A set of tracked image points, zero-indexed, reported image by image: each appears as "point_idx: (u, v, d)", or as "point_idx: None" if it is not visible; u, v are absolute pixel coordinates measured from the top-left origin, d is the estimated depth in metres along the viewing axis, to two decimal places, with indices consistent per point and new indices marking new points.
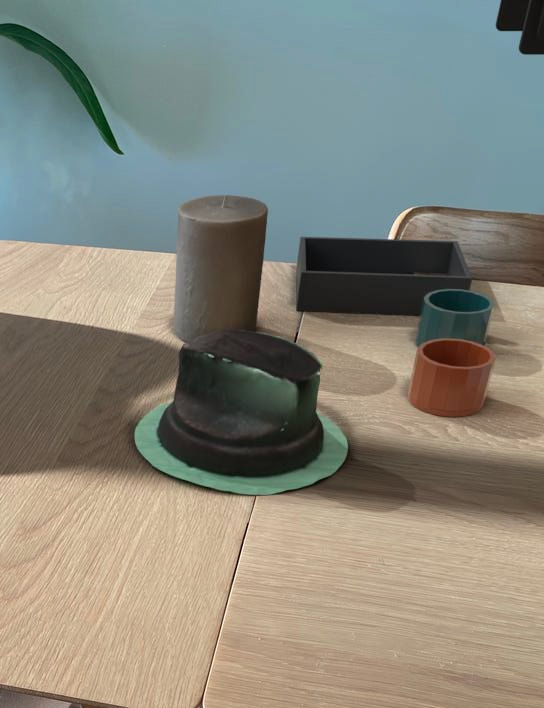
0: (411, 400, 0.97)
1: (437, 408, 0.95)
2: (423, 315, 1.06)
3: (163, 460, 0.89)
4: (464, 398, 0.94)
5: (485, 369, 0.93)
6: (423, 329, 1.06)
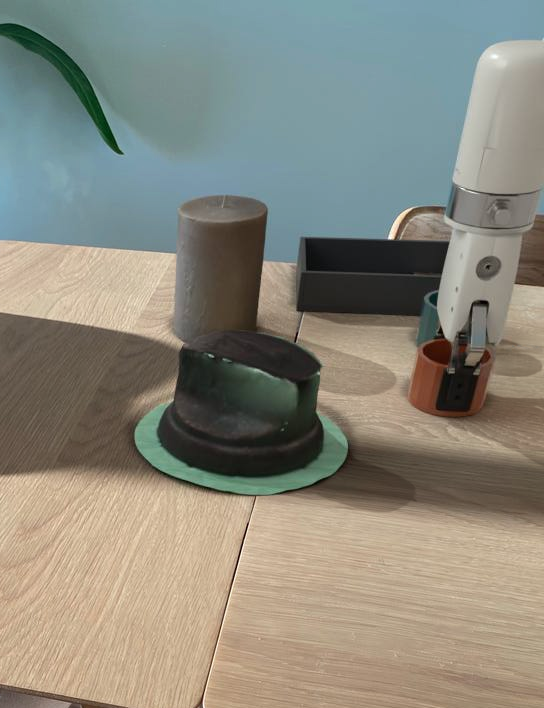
0: (411, 400, 0.97)
1: None
2: (423, 315, 1.06)
3: (163, 460, 0.89)
4: None
5: (485, 369, 0.93)
6: (423, 329, 1.06)
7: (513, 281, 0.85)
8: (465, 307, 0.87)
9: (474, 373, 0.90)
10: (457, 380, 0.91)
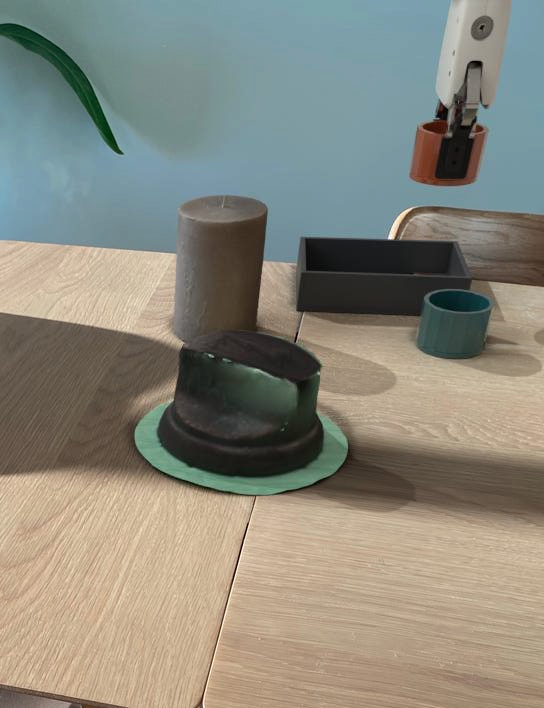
0: (412, 176, 1.07)
1: (436, 178, 1.05)
2: (423, 315, 1.06)
3: (163, 460, 0.89)
4: None
5: (479, 137, 1.03)
6: (423, 329, 1.06)
7: (504, 41, 0.95)
8: (461, 68, 0.97)
9: (470, 136, 1.00)
10: (454, 144, 1.01)
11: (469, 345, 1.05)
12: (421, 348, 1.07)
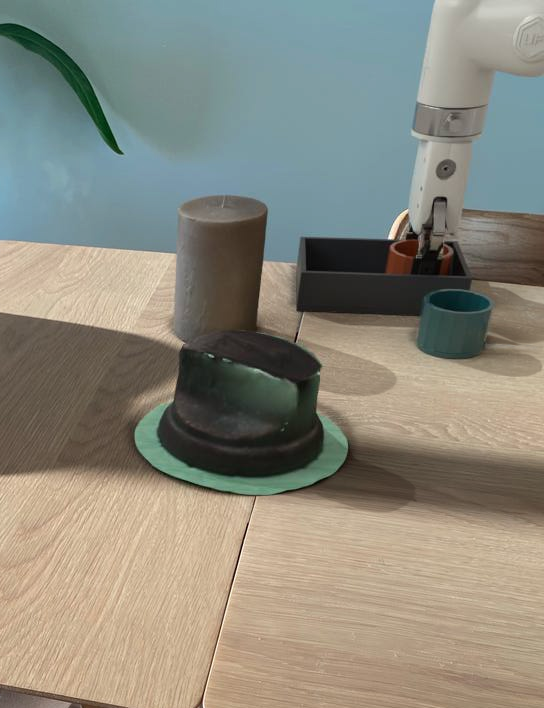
0: None
1: None
2: (423, 315, 1.06)
3: (163, 461, 0.89)
4: None
5: (444, 260, 1.14)
6: (423, 329, 1.06)
7: (466, 180, 1.07)
8: (428, 203, 1.09)
9: (438, 258, 1.11)
10: (424, 265, 1.12)
11: (469, 345, 1.05)
12: (421, 348, 1.07)
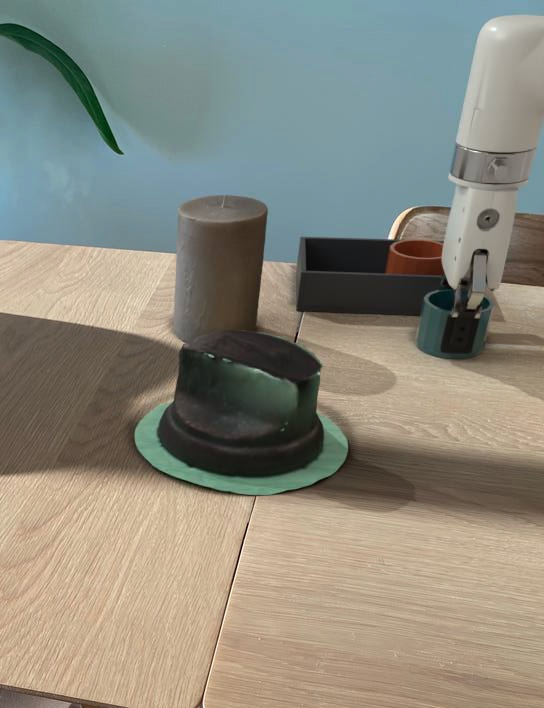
0: None
1: None
2: (423, 315, 1.06)
3: (163, 460, 0.89)
4: None
5: None
6: (423, 329, 1.06)
7: (510, 231, 0.96)
8: (467, 256, 0.97)
9: (475, 317, 1.01)
10: (460, 323, 1.02)
11: None
12: (421, 348, 1.07)
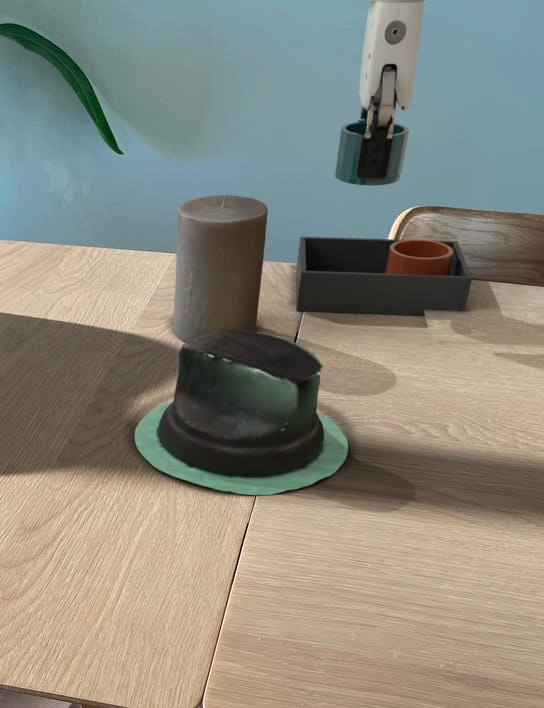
0: None
1: None
2: (340, 143, 1.09)
3: (163, 461, 0.89)
4: None
5: (444, 260, 1.14)
6: (341, 158, 1.09)
7: (417, 45, 0.99)
8: (377, 71, 1.00)
9: (387, 137, 1.04)
10: (373, 145, 1.05)
11: None
12: (339, 178, 1.10)
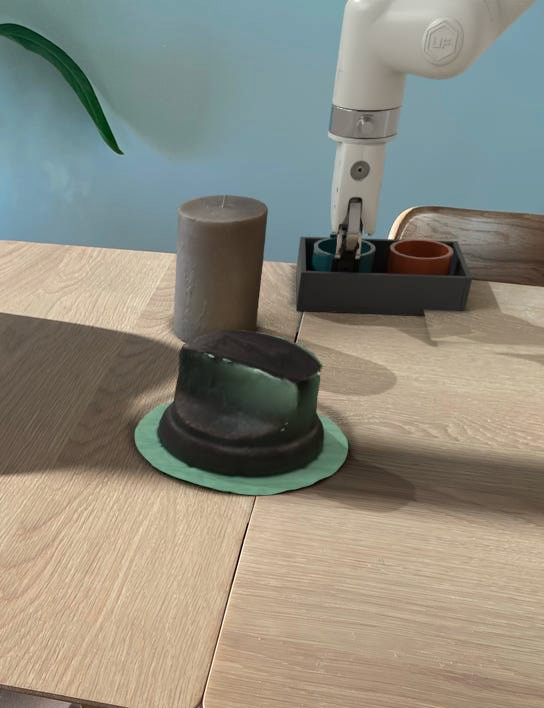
0: None
1: None
2: (313, 259, 1.18)
3: (163, 461, 0.89)
4: None
5: (444, 260, 1.14)
6: None
7: (380, 181, 1.08)
8: (344, 203, 1.10)
9: (355, 258, 1.13)
10: (342, 265, 1.14)
11: None
12: None
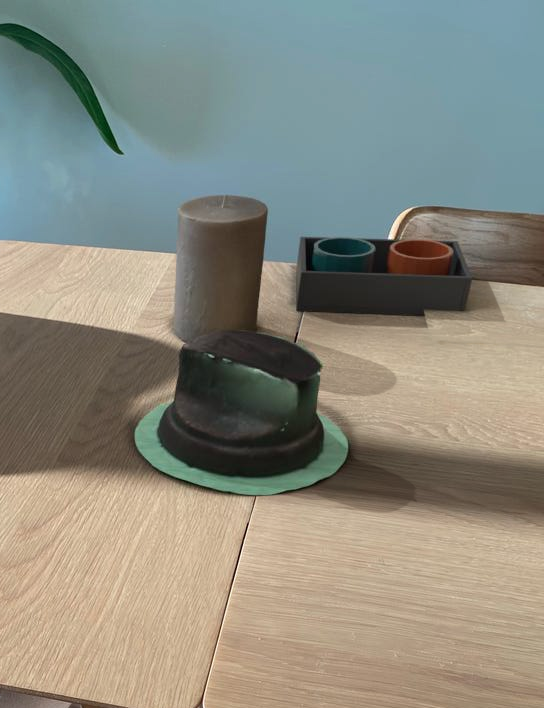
0: None
1: None
2: (313, 259, 1.18)
3: (163, 461, 0.89)
4: None
5: (444, 260, 1.14)
6: None
7: None
8: None
9: None
10: None
11: None
12: None
